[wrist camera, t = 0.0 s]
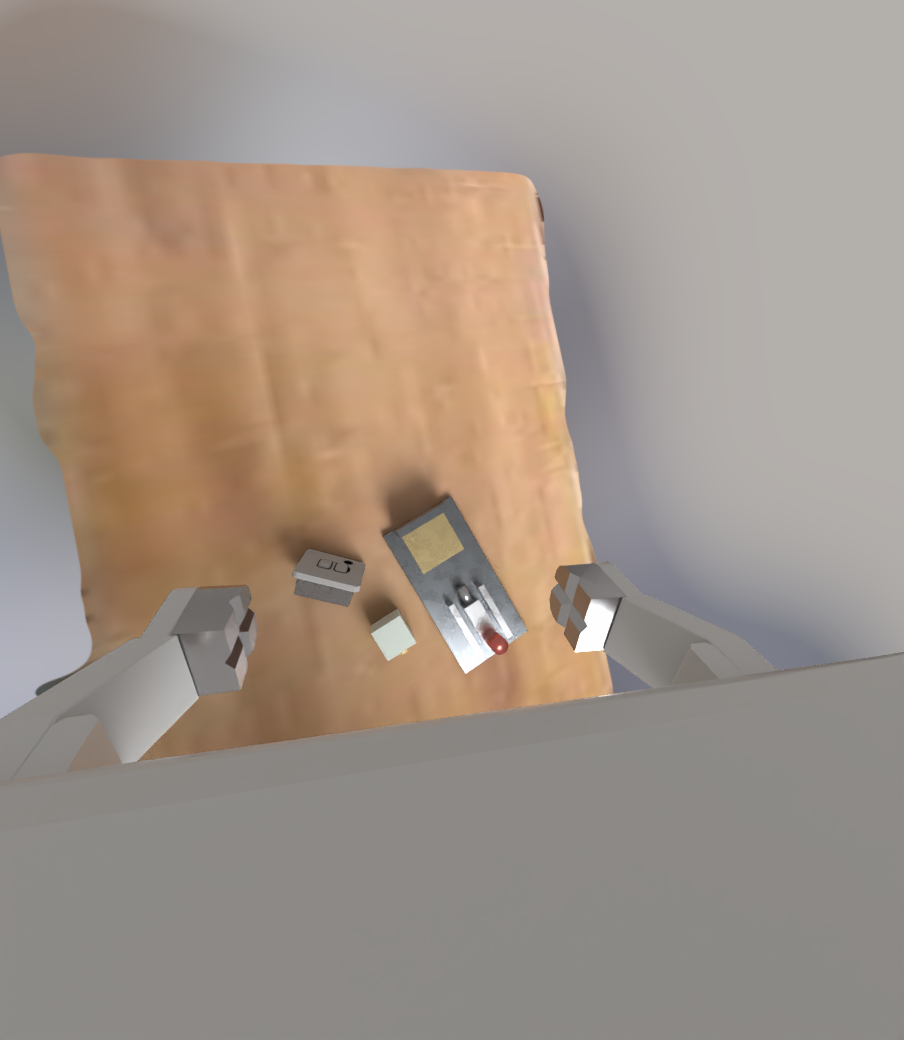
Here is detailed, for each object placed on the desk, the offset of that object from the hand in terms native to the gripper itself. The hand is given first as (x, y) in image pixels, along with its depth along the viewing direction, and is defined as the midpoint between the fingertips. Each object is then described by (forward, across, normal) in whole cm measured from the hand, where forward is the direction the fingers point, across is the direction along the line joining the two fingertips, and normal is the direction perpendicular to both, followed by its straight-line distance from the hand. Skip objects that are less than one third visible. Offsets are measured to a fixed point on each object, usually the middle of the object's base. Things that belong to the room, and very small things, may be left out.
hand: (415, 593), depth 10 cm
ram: (+40, +16, -38) cm, 57 cm away
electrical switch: (+45, -7, -32) cm, 55 cm away
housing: (+40, +2, -40) cm, 57 cm away
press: (+43, +13, -34) cm, 57 cm away
